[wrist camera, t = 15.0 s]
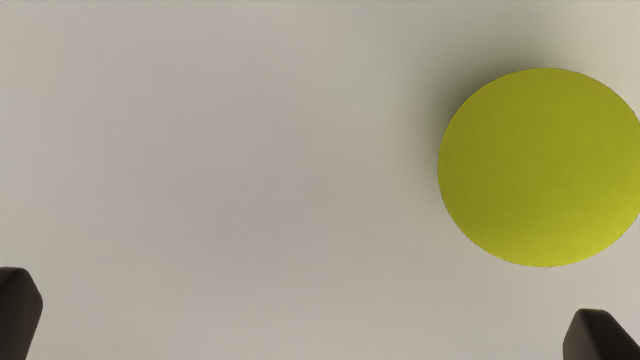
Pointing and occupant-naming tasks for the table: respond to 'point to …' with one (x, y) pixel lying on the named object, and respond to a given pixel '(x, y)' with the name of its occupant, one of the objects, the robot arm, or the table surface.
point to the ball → (542, 167)
